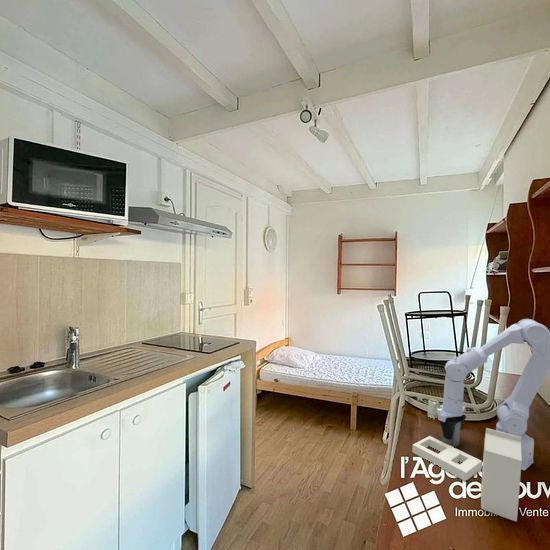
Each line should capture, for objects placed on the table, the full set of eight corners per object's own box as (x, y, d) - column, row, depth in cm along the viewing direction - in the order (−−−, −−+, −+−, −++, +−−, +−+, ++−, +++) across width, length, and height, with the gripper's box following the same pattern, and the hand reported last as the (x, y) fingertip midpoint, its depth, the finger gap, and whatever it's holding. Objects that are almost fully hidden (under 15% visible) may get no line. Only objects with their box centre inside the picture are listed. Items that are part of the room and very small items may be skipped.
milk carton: (516, 522, 76) (523, 444, 75) (481, 509, 80) (486, 434, 79) (513, 504, 82) (519, 430, 81) (480, 492, 86) (485, 422, 85)
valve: (424, 418, 127) (458, 430, 118) (425, 401, 126) (459, 412, 118) (430, 412, 131) (463, 424, 123) (431, 396, 131) (464, 407, 123)
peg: (459, 444, 108) (460, 421, 108) (453, 448, 106) (454, 424, 106) (447, 439, 112) (448, 416, 111) (441, 442, 109) (442, 419, 109)
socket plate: (481, 469, 96) (481, 460, 96) (465, 481, 90) (465, 472, 90) (429, 443, 109) (429, 435, 109) (412, 452, 103) (412, 444, 103)
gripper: (451, 388, 116) (449, 425, 116) (430, 397, 107) (427, 437, 108) (473, 395, 110) (470, 434, 111) (451, 405, 101) (449, 447, 102)
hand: (450, 436), depth 109 cm, fingers closed on peg, 4 cm apart
